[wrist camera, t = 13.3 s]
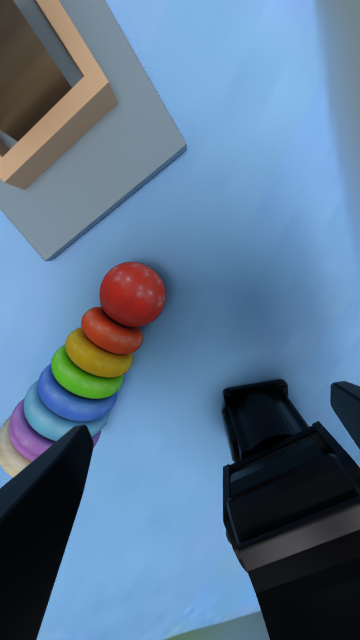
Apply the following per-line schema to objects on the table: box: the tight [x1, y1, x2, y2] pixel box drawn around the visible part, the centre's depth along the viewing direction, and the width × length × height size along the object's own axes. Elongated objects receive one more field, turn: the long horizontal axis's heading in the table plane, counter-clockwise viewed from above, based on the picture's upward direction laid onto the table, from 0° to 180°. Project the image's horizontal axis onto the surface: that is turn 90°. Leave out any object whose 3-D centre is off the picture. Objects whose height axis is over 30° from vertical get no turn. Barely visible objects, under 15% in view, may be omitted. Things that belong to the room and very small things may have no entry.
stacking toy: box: [0, 262, 166, 477], centre depth 18 cm, size 8×8×19 cm
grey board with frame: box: [0, 0, 187, 261], centre depth 14 cm, size 18×14×3 cm
